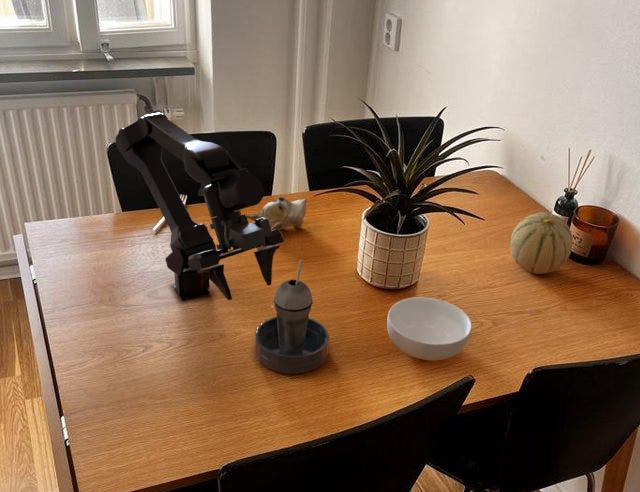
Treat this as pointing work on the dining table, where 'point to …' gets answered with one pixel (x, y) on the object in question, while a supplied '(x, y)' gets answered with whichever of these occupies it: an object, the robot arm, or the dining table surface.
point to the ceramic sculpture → (282, 213)
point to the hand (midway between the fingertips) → (250, 292)
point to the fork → (164, 218)
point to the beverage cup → (292, 314)
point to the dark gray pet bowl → (274, 360)
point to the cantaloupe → (541, 243)
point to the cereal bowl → (428, 328)
